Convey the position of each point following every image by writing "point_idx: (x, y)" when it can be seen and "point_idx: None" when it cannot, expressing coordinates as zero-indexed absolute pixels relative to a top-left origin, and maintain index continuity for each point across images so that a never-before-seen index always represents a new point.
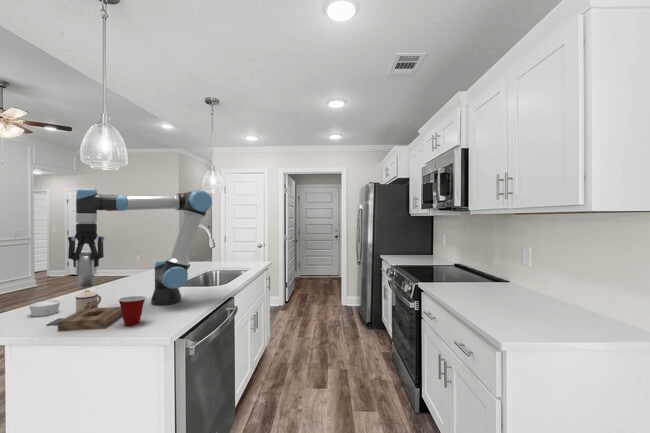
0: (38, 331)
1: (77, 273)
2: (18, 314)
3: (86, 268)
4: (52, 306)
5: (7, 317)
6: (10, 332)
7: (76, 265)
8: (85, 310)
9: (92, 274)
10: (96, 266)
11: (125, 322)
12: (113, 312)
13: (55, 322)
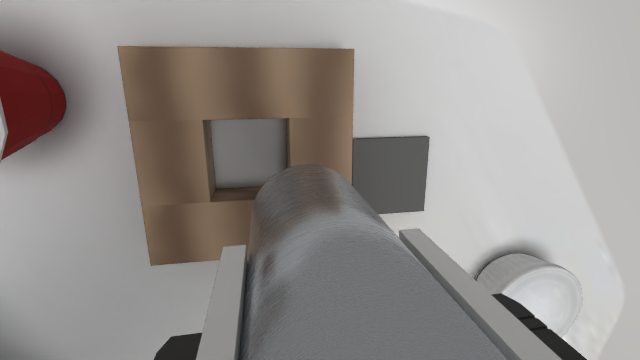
0: (420, 68)
1: (407, 240)
2: (587, 285)
3: (294, 251)
4: (495, 289)
5: (605, 255)
6: (515, 77)
7: (479, 297)
8: None
9: (233, 246)
10: (170, 340)
11: (29, 63)
12: (148, 167)
13: (407, 158)
